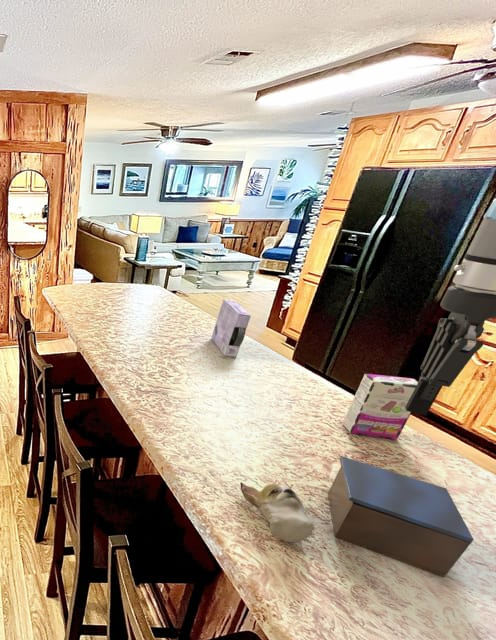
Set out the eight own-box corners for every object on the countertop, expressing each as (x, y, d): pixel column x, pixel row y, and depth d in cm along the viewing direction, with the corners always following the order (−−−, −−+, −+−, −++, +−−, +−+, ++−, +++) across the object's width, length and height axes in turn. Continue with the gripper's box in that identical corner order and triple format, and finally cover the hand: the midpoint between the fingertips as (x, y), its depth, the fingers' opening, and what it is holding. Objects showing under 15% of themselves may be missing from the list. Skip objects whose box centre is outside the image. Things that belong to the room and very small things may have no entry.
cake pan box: (238, 359, 147) (252, 314, 139) (224, 357, 147) (237, 313, 139) (222, 339, 164) (234, 299, 156) (210, 338, 164) (221, 298, 156)
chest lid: (348, 500, 71) (350, 497, 71) (339, 458, 82) (341, 455, 81) (471, 543, 64) (474, 539, 63) (444, 491, 74) (446, 488, 74)
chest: (334, 536, 75) (352, 503, 71) (327, 492, 85) (343, 461, 81) (444, 577, 68) (471, 543, 64) (421, 523, 78) (444, 491, 74)
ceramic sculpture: (276, 512, 69) (244, 460, 82) (262, 547, 72) (233, 492, 86) (342, 521, 67) (298, 467, 81) (324, 557, 71) (285, 499, 84)
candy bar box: (386, 429, 107) (414, 377, 100) (397, 440, 103) (427, 387, 96) (340, 423, 109) (364, 372, 102) (349, 433, 105) (375, 381, 98)
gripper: (440, 277, 69) (383, 391, 79) (462, 294, 59) (395, 421, 70) (501, 284, 65) (433, 402, 76) (536, 303, 56) (452, 435, 66)
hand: (415, 411), depth 73 cm, fingers closed
